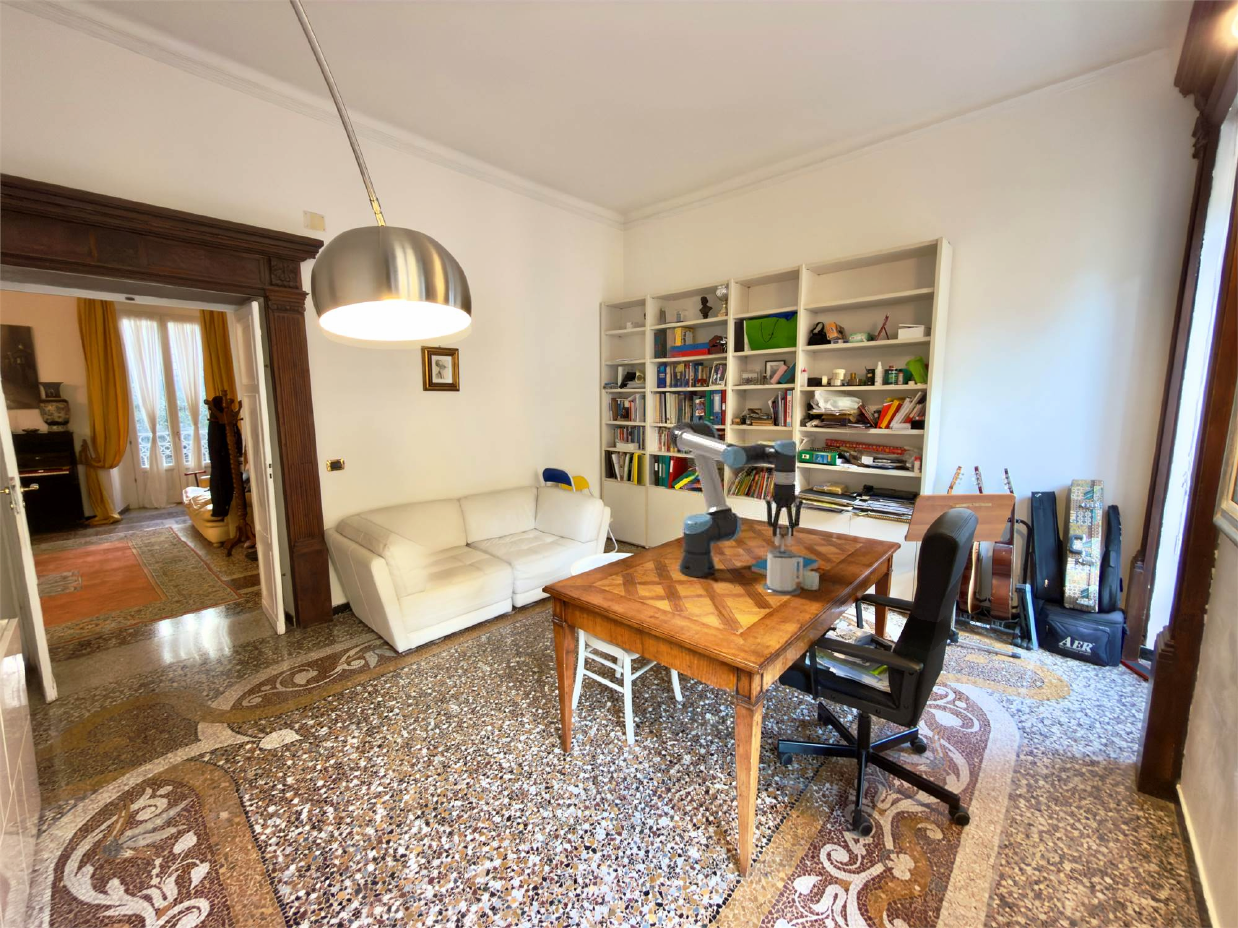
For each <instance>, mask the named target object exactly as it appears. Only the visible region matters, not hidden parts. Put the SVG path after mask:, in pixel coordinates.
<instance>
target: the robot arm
mask: <svg viewBox="0 0 1238 928" xmlns="http://www.w3.org/2000/svg"><path fill="white" fill-rule="evenodd" d="M668 432H669V433H668V441H669V444H670V445H671V447H673V448H675V449H677V450H679V451H683V452H687V451H688V453H689V455H690V456H692V457H693V458H694V463H695V467H696V470H697V474H698V478H699V481H700V485H701V490H702V494H703V498H704V502H705V504H706V511H705V513H695V514H690V515H689V516H686V518H684V521H683V527H682V532H683V553H682V556H681V560H680V561H679V565H678V567H679V568H678V569H679V572H680V573H681V574H683V575H685V576H687V577H692V578H705V577H710V576H713V575H715V573H716V571H717V569H716V568H717V567H716V563H715V559H714V557H713V554H712V550H713V549H712V545H715V544H719V543H724V542H730V541H733V540H735V539H736V538H738V537H739V535H740V534H741V531H742V520H741V518H740V517H739V515H738V514H737V513H736V512H733V509H732V507H731V506H729V504H727V501H726V497H725V493H724V489H723V486H722V482H721V478H720V474H719V471H718V466H717V462H716V460H717V461H721V462H723V464H724V465H725V466H726V467H728V468H735V469H736V468H741V467H749V466H756V465H758V466H759V465H770V466H773V482H774V483H773V495H772V496H771V498H769V499H765V500H764V502H765V505H766V517H767V518H766V522H767V525H768V526H769V527H771V528H772V536H773V537H774V545H775V546H778V547H779V546H780V535H779V528H778V526H779V525H778V524H779V521H780V518H781V517H780V516H781V513H782V510H783V509H784V508H785V510H786V515H787V522H788V535H787V536H786V537H785V538H786V539H785V540H786V543H785V544H786V545H787V546H789V547H790V546H791V544H792V543H791V542H792V537H794V532H795V531H794V529H795V528H796V527H797V528H798V527H800V523H801V522H800V521H801V510H802V507H803V504H804V501H803V500H802V499H800V498H797V496H796V484H795V483H796V477H797V475H796V473H797V472H796V470H797V469H796V468H797V467H796V466H797V456H798V449H797V442H796V441H794V440H789V439H788V440H787V439H781V440H780V439H778V440H775V442H774V444H765V443H751V444H750V445H739V444H736V443H735V444H734V443H731V442H728V441H724V440H721V439H718V438H719V437H718V436H719V435H718V430H717V429H716V427H715V426H714V424H712V423H710V422H709V421H702V420H699V421H691V422H689V421H688V422H678V423H676V424H673V426H672V427H671V428H670V430H669V431H668ZM773 503H774V504H775V510H774V514H773V507H772V505H773ZM793 504H795V507H794V517H793V507H792V506H793ZM773 515H774V516H773Z"/></svg>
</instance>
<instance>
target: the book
mask: <svg viewBox="0 0 1238 928" xmlns="http://www.w3.org/2000/svg"><path fill="white" fill-rule="evenodd" d="M796 555H797V558H803V571H811V570H812V569H813V570H816V569H818V565H819V563H818V562H819V559H815V558H811V557H807V556H804V555H803V556H802V555H798V554H796ZM750 571H751V572H754V573H757V574H760V575H764V576H767V558H764V559H762V560H760V561H758V562H755V563H752V564H751V566H750ZM797 577H799V561H797Z"/></svg>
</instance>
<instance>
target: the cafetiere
mask: <svg viewBox="0 0 1238 928" xmlns="http://www.w3.org/2000/svg"><path fill="white" fill-rule="evenodd" d="M767 550H768V551H767V575H766V582H767V588H768V589H769V590H771V591H774V592H777V593H792V592H794V591H796V585H797V583H802V573H803V558H797V555H798V554H797V553H795V552H794V551H793V550H792V549H788V548H787V549H785V548H784V554H781V548H773V549H772V548H770V549H767ZM797 561H799V576H797Z"/></svg>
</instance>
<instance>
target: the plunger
mask: <svg viewBox="0 0 1238 928" xmlns="http://www.w3.org/2000/svg"><path fill="white" fill-rule="evenodd" d="M777 527H778V528H779V536H780V549H781V554H784V549H785V538H786V537H787V535H788V527H789V525H786V524H785V525H780V524H779V525H778V526H777ZM785 536H786V537H785Z"/></svg>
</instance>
